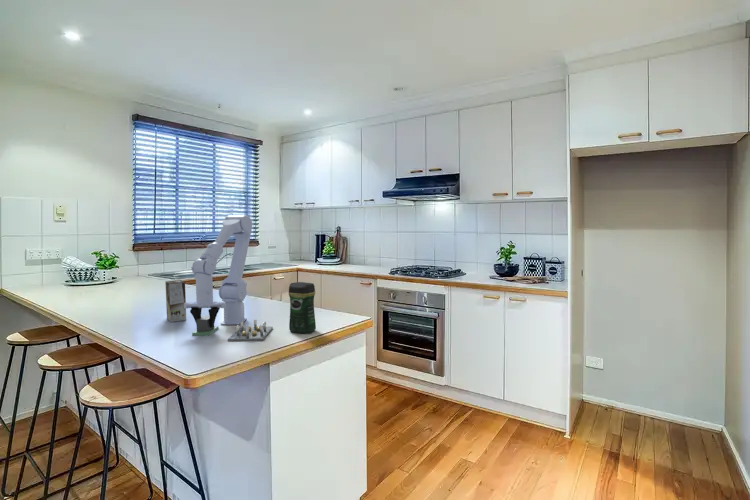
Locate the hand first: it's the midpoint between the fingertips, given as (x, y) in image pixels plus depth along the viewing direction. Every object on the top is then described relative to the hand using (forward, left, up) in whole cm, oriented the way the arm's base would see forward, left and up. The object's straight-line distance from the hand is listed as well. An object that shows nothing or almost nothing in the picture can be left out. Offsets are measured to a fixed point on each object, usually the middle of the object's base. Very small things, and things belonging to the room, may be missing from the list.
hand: (205, 327), depth 151 cm
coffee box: (-21, -20, -2) cm, 29 cm away
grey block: (0, 0, -2) cm, 2 cm away
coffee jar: (0, +36, -2) cm, 36 cm away
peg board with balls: (+4, +18, -2) cm, 19 cm away
